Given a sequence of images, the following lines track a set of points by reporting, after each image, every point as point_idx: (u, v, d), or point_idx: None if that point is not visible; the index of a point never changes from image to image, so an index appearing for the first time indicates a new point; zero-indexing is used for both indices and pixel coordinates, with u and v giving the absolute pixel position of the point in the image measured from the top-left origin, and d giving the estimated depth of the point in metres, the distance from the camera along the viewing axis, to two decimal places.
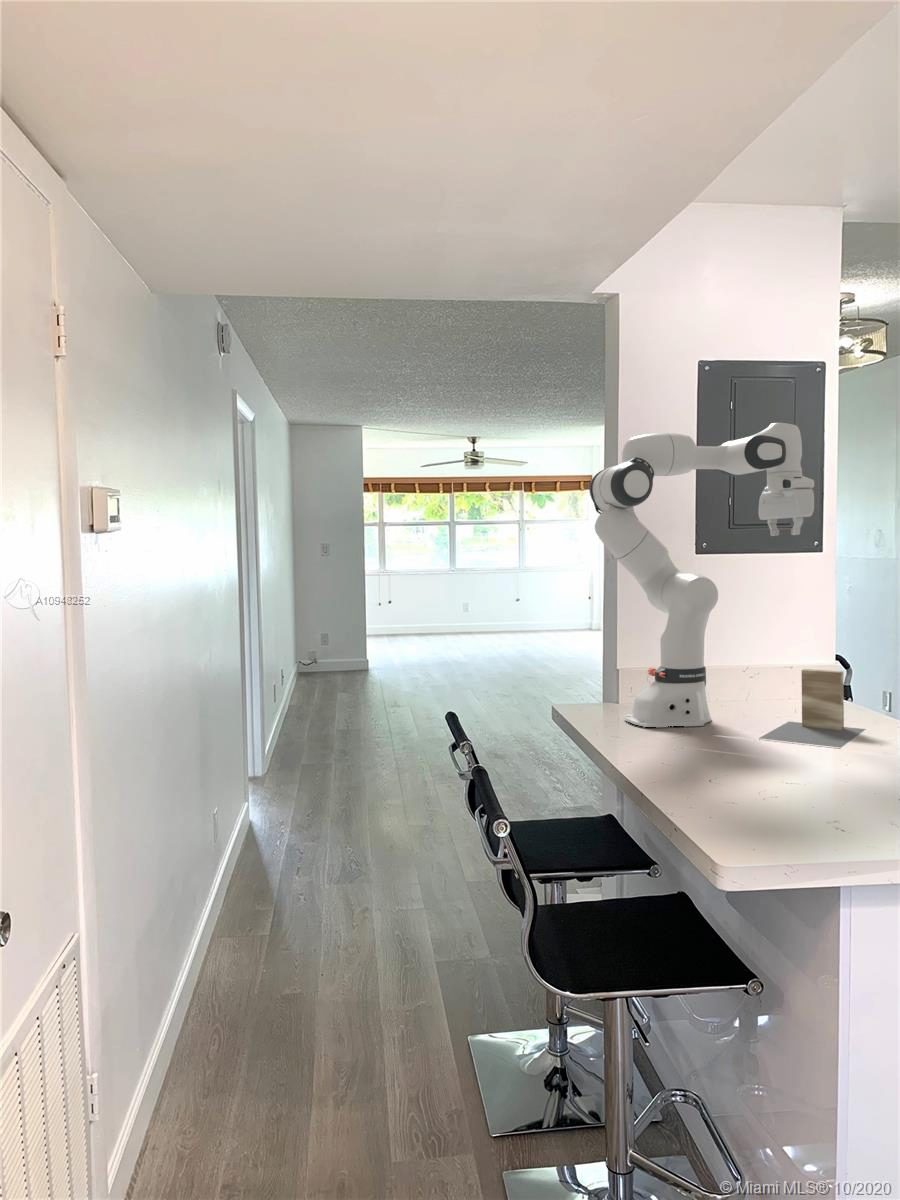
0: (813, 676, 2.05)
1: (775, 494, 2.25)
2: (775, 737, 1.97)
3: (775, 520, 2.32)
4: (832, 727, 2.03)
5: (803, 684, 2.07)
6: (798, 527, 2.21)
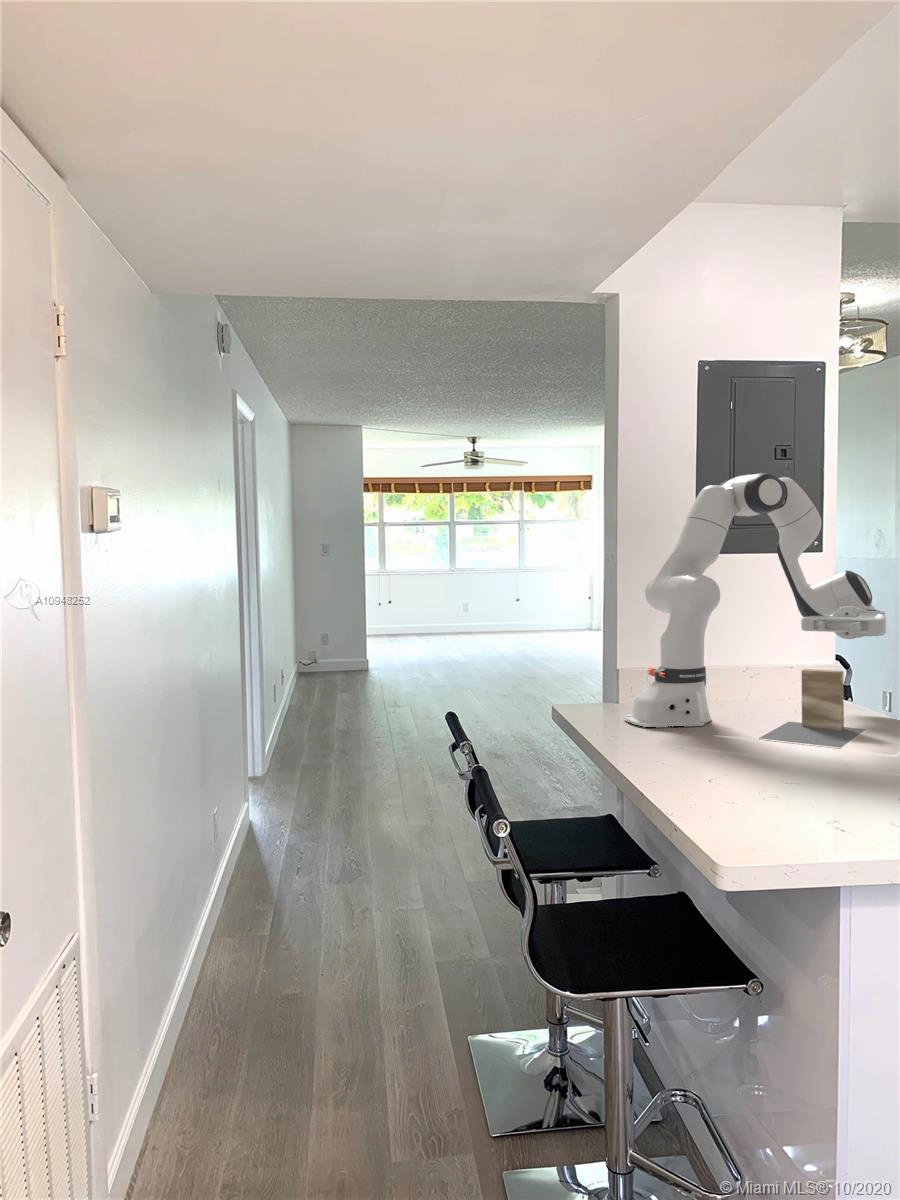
0: (813, 676, 2.05)
1: (849, 611, 2.22)
2: (775, 737, 1.97)
3: None
4: (832, 727, 2.03)
5: (803, 684, 2.07)
6: (855, 627, 2.13)
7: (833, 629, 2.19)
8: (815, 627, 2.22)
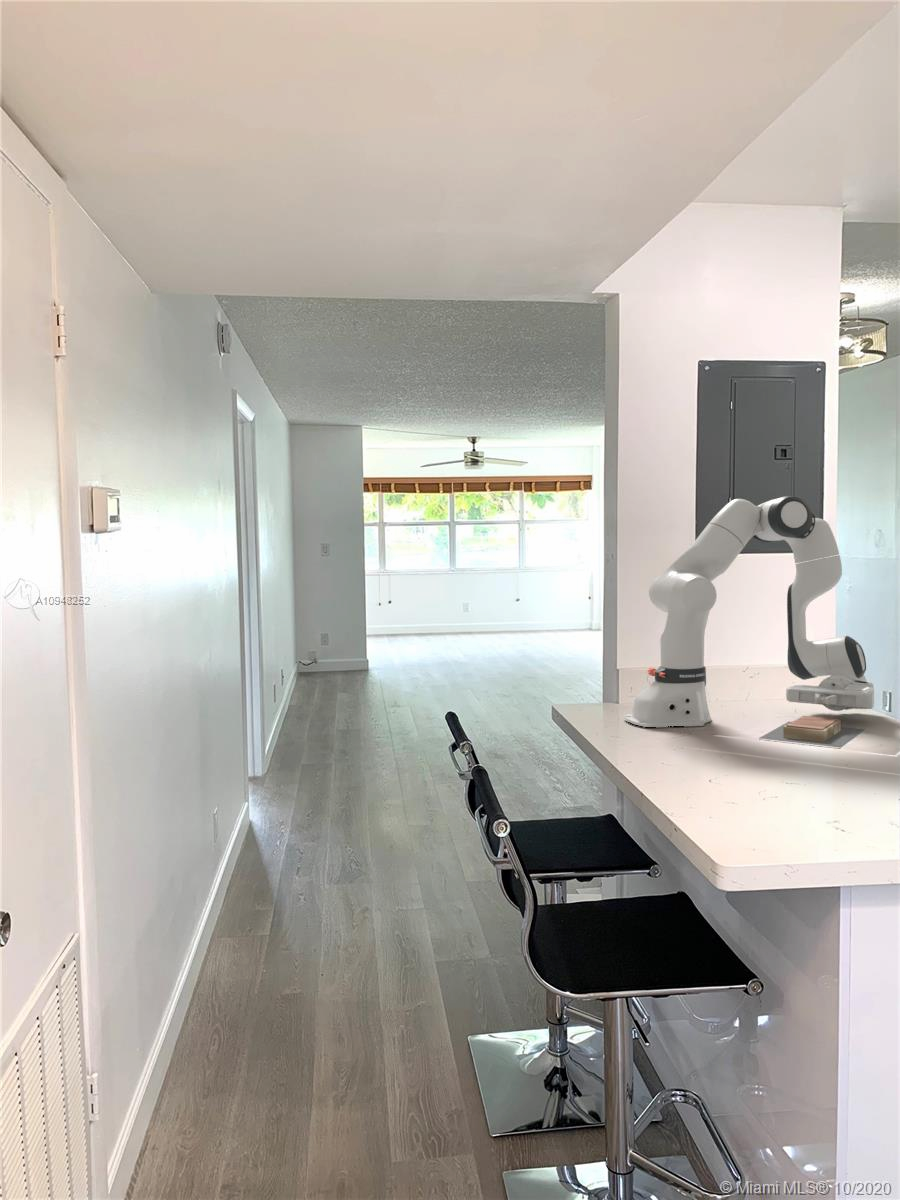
0: None
1: (835, 682, 2.13)
2: (775, 737, 1.97)
3: None
4: None
5: None
6: (830, 701, 2.05)
7: None
8: (800, 698, 2.13)
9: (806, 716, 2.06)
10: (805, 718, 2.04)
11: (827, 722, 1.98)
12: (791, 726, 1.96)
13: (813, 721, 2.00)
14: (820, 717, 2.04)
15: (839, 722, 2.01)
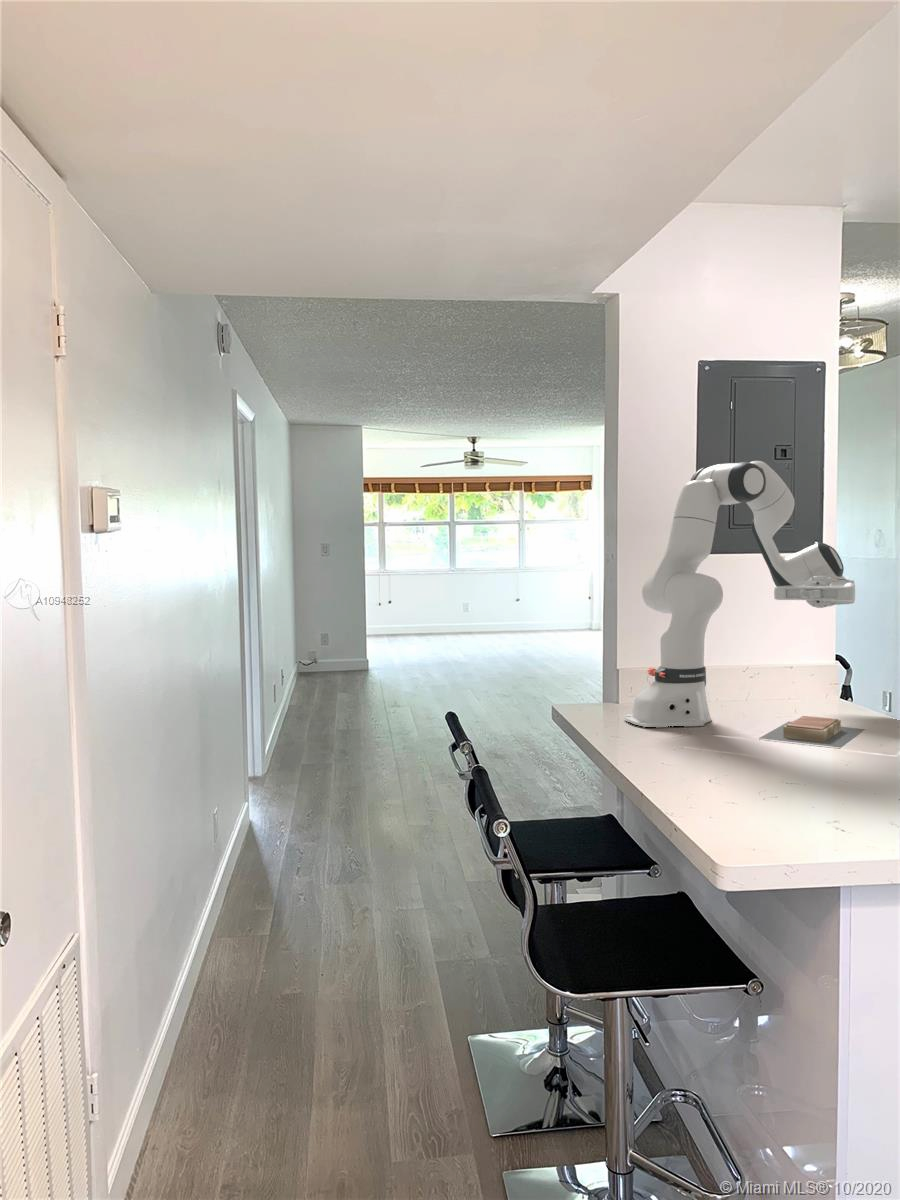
0: None
1: (820, 581, 2.30)
2: (775, 737, 1.97)
3: None
4: None
5: None
6: (814, 595, 2.22)
7: (804, 597, 2.27)
8: (787, 596, 2.30)
9: (806, 716, 2.06)
10: (805, 718, 2.04)
11: (827, 722, 1.98)
12: (791, 726, 1.96)
13: (813, 721, 2.00)
14: (820, 717, 2.04)
15: (839, 722, 2.01)
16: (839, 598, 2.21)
